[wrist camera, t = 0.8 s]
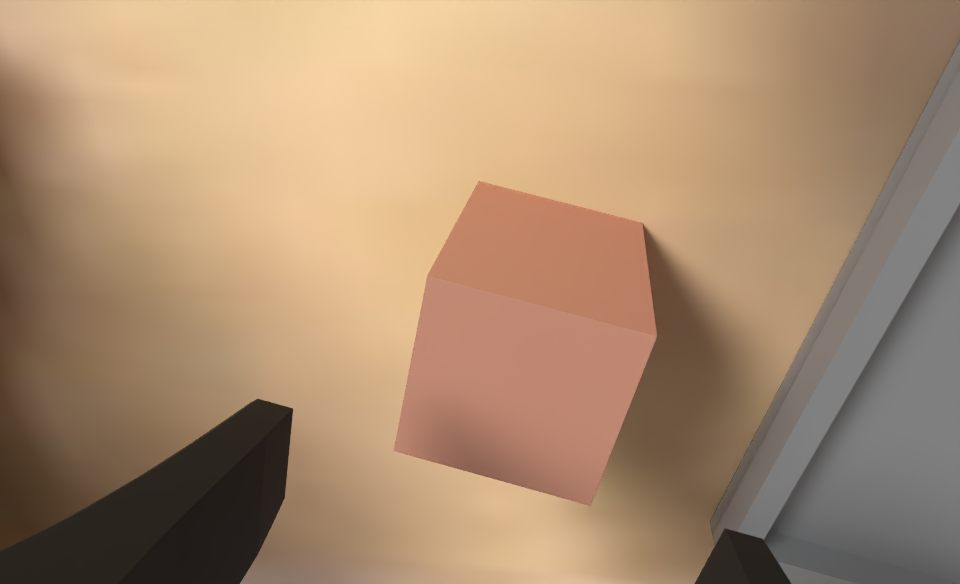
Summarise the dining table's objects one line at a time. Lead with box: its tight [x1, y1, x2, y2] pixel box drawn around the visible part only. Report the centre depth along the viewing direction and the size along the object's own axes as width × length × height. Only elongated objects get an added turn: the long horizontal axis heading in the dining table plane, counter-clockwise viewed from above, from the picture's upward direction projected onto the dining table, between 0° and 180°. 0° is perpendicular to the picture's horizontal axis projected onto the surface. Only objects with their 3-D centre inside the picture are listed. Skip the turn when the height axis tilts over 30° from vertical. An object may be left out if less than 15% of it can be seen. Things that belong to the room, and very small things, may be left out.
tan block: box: [394, 181, 657, 505], centre depth 17 cm, size 4×4×6 cm
